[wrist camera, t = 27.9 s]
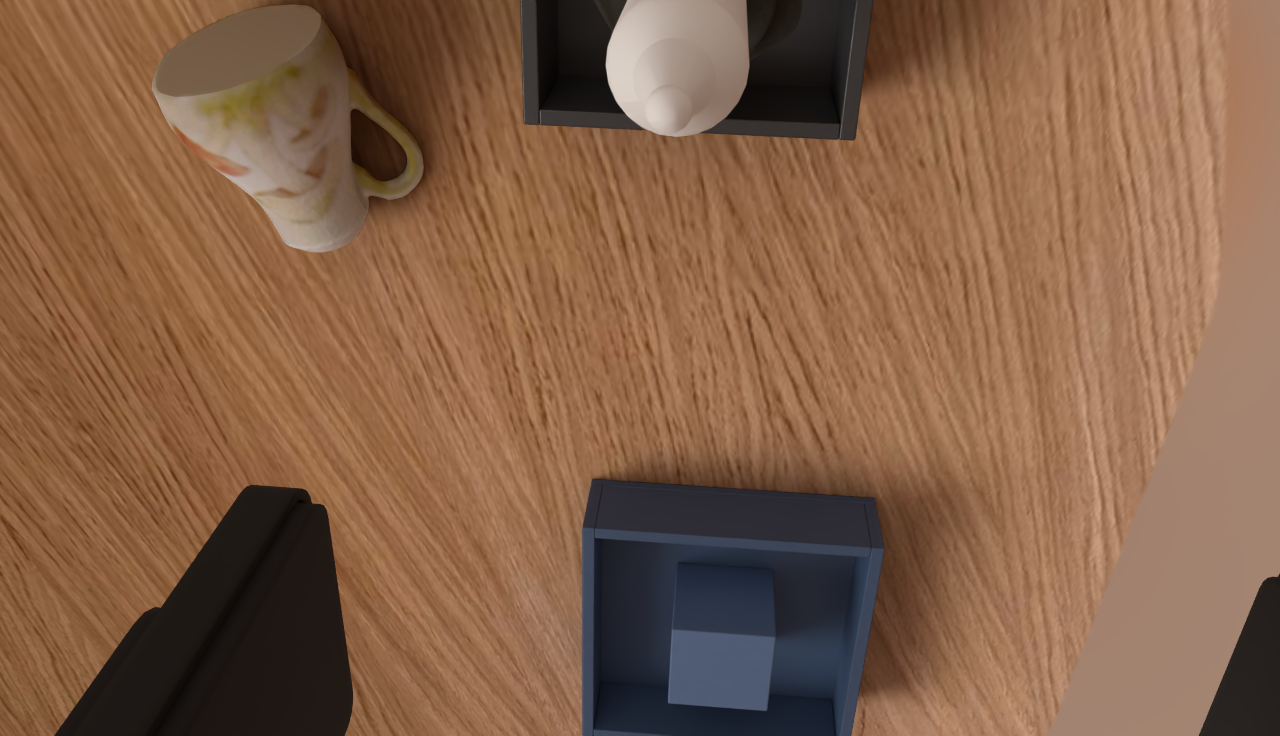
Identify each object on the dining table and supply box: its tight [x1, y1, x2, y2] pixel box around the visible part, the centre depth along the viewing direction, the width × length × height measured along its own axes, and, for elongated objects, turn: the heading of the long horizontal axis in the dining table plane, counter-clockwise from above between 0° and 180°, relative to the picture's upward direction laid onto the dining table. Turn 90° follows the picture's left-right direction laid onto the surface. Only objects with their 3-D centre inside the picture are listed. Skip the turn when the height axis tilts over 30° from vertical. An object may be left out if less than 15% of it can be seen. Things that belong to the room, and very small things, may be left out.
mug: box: [152, 4, 424, 252], centre depth 43 cm, size 8×10×10 cm
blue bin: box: [582, 479, 885, 736], centre depth 55 cm, size 14×14×4 cm
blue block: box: [668, 563, 776, 711], centre depth 54 cm, size 5×5×5 cm
